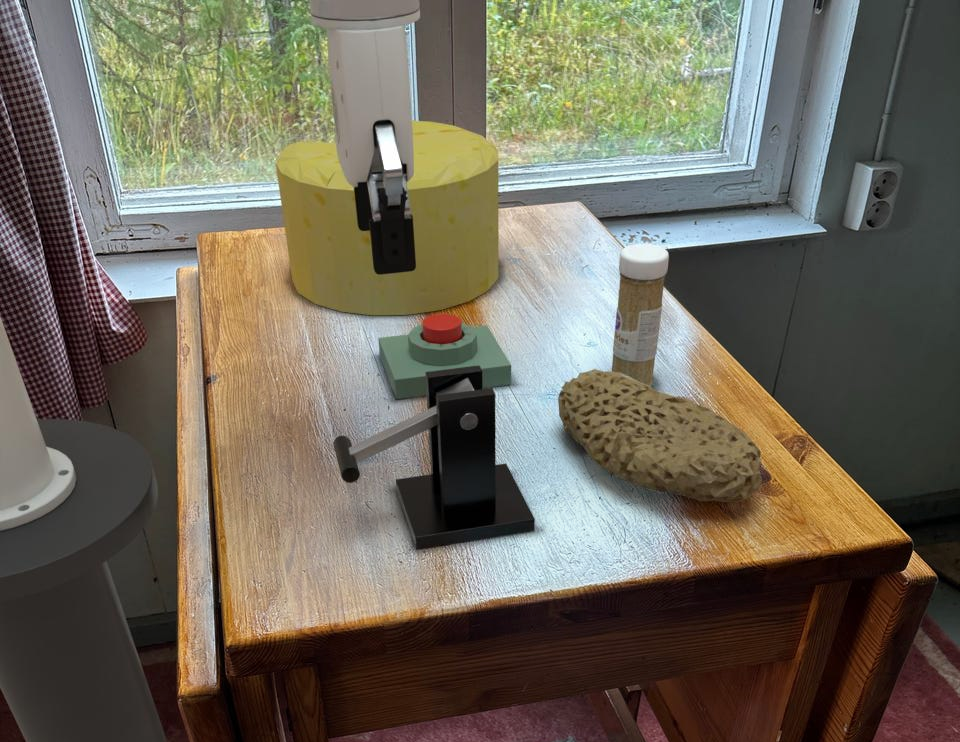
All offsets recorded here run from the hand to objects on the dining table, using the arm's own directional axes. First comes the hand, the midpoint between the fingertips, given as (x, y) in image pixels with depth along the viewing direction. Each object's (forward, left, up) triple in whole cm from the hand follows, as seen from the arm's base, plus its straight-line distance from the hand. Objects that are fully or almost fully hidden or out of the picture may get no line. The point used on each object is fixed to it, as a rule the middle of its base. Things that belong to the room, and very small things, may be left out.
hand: (385, 249), depth 78 cm
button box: (+7, +15, -19) cm, 25 cm away
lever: (-1, -11, -11) cm, 16 cm away
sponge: (+21, -9, -19) cm, 30 cm away
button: (+7, +15, -15) cm, 23 cm away
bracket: (+3, -11, -19) cm, 22 cm away
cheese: (+7, +43, -19) cm, 48 cm away
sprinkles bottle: (+25, +7, -19) cm, 32 cm away
